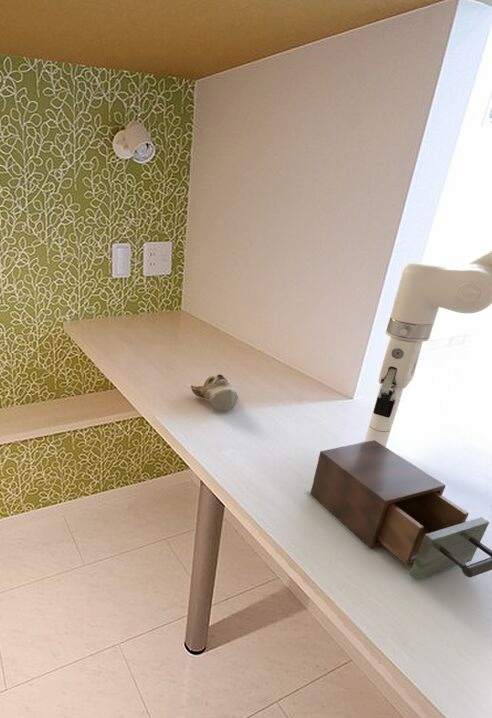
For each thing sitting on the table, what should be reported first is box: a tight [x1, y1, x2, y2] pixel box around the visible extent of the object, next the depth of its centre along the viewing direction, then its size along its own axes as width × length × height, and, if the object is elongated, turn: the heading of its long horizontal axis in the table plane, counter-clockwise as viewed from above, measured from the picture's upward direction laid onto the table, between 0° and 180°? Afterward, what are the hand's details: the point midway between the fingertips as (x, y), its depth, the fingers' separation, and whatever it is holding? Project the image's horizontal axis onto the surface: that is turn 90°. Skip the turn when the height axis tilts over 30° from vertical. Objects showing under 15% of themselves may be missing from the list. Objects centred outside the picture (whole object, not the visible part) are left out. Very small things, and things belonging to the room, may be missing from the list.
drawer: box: [377, 492, 492, 581], centre depth 67 cm, size 18×11×8 cm, turn 20°
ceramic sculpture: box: [190, 374, 239, 413], centre depth 115 cm, size 11×9×15 cm
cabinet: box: [310, 440, 446, 549], centre depth 76 cm, size 15×13×10 cm
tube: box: [364, 384, 404, 448], centre depth 94 cm, size 4×4×15 cm
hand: (384, 410), depth 93 cm, fingers closed on tube, 4 cm apart
